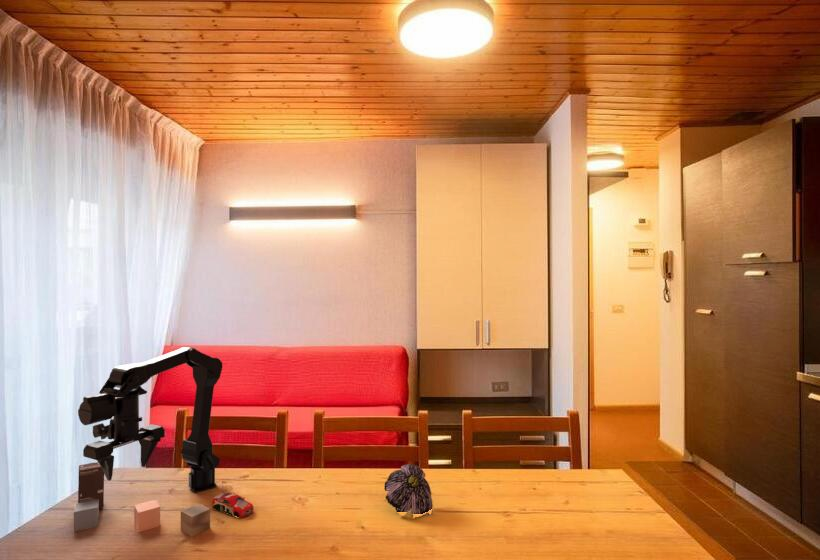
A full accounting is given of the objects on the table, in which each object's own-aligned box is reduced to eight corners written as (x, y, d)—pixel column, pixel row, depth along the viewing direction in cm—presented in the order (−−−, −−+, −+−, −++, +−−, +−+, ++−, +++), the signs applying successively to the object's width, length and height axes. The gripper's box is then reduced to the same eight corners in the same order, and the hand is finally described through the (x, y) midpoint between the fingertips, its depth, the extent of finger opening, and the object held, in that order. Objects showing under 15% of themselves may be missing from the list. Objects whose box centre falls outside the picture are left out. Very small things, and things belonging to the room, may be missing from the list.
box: (77, 514, 127) (78, 470, 127) (78, 507, 131) (78, 464, 131) (104, 509, 131) (104, 465, 131) (104, 502, 135) (104, 460, 134)
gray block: (98, 517, 126) (98, 499, 126) (97, 526, 122) (97, 507, 122) (75, 522, 124) (75, 503, 124) (73, 531, 119) (73, 512, 119)
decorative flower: (386, 487, 125) (393, 450, 139) (375, 520, 128) (383, 481, 143) (439, 502, 125) (441, 464, 139) (427, 535, 128) (429, 495, 143)
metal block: (198, 522, 125) (199, 503, 125) (210, 528, 122) (210, 508, 122) (180, 530, 121) (180, 511, 120) (191, 537, 118) (191, 517, 118)
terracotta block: (155, 518, 126) (155, 499, 126) (160, 525, 123) (160, 506, 123) (134, 524, 123) (134, 505, 123) (138, 532, 119) (138, 512, 119)
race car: (257, 513, 130) (257, 498, 130) (241, 521, 126) (241, 506, 126) (225, 500, 137) (225, 487, 137) (208, 508, 132) (209, 494, 132)
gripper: (140, 401, 136) (140, 455, 136) (69, 419, 119) (70, 481, 120) (166, 406, 131) (166, 462, 132) (96, 426, 114) (97, 490, 115)
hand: (126, 473), depth 124 cm, fingers open, 9 cm apart
